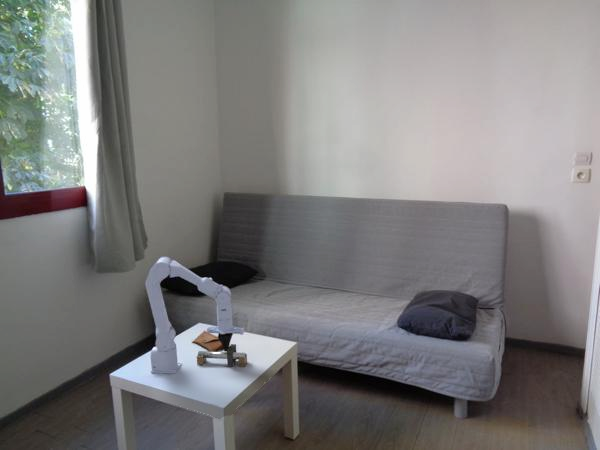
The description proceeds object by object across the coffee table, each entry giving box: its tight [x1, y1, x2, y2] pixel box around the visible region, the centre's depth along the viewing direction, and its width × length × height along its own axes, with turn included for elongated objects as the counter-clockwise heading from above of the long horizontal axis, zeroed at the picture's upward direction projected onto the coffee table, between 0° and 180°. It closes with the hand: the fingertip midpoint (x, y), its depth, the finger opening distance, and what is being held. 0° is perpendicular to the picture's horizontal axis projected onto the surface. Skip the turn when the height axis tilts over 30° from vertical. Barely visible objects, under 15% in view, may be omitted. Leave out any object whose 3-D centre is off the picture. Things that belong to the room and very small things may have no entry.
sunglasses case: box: [191, 330, 224, 352], centre depth 198 cm, size 18×7×7 cm, turn 46°
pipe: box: [196, 350, 248, 368], centre depth 180 cm, size 19×4×5 cm, turn 82°
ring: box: [226, 343, 238, 367], centre depth 179 cm, size 2×6×6 cm, turn 172°
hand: (226, 350), depth 179 cm, fingers closed
